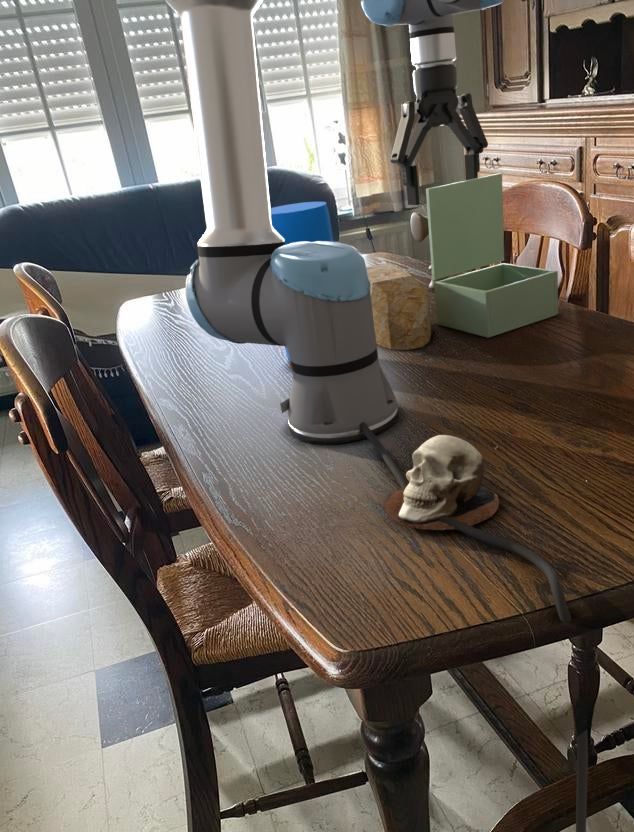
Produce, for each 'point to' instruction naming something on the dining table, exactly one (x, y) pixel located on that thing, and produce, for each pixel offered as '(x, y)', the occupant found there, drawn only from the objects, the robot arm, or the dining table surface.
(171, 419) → the dining table surface
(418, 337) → the bread
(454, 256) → the chest lid
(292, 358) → the robot arm
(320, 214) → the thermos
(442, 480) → the skull
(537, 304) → the chest
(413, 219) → the kendama
